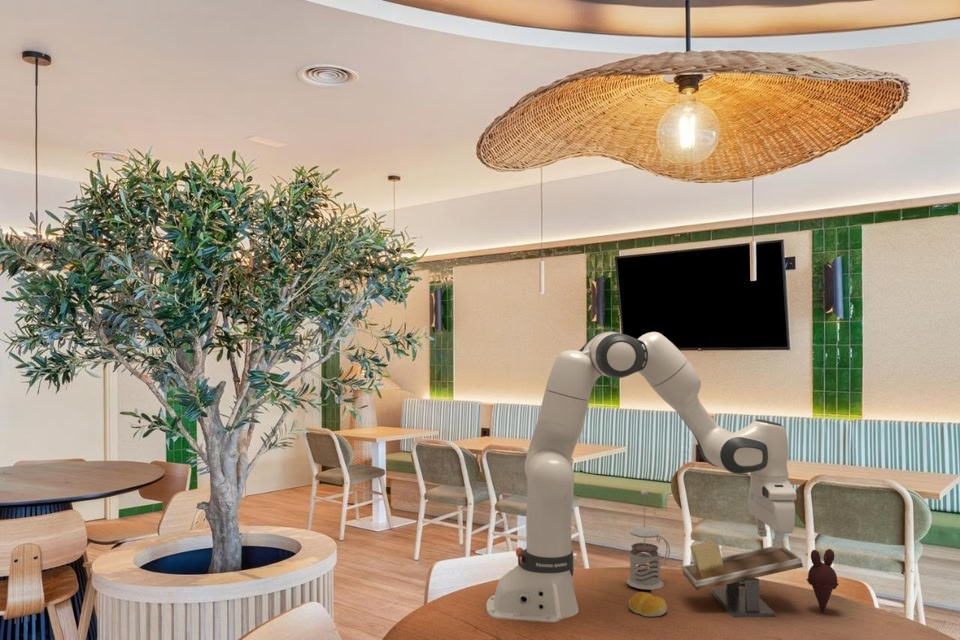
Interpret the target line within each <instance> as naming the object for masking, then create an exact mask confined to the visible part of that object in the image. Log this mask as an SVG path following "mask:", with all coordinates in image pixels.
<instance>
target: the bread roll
mask: <svg viewBox="0 0 960 640" xmlns="http://www.w3.org/2000/svg"><path fill="white" fill-rule="evenodd" d="M628 607H629V609H630V610H631V611H632V612H633V613H635V614H637V615H640V616H643V617H647V618H648V617H649V618H652V617H653V618H654V617H660V616H662V615H664V614H665V613H667V611H668V605H667V602H666V600H665V599H664V598H662V597H660V596H656V595H655V596H654V595H652V593H651V594H650V593H649V592H646V591H645V592H644V591H640V592H637V593H635V594H634V595H633V596H632V597H631V598H630V599H629V600H628Z"/></svg>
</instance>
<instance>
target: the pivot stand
mask: <svg viewBox="0 0 960 640" xmlns="http://www.w3.org/2000/svg"><path fill="white" fill-rule="evenodd" d="M711 594H712V596H713V597H714V598H715V599H716V600H717V602H718V603H719V604H720V605H721V606H722V607H723V608H724V610H726V612H727V613H728V614H729V615H730V616H731V617H733V618H776V616H777V615H776V612H775V611H774V610H773V609H772V608H771V607H769V605H767V603H766V602H764V601H763V599H762V598H760V578H759V577H757V578H745V583H744V588H740V582H734V583H730V584H725V588H711Z"/></svg>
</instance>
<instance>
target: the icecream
mask: <svg viewBox="0 0 960 640" xmlns="http://www.w3.org/2000/svg"><path fill="white" fill-rule="evenodd" d="M820 555H821V554H820V552H819V551H818V550H816V549H812V550H811V552H810V560H811V563H812V565H811V567H810V568H809V570H808V574H807V578H806V582H808V585H811V587H812V590H813V592H814V595H815V597H816V600H817V604H818V607H819V609H820V611H821V612H823V613H824V612H825V610H826V607H827V605H828V602H829V600H830V599H831V598H830V597H831V595H832V592H833V590H836V589H837V587H838V586H839V583H838V582H839V581H838V576H837V573H836V571H835V569H834V568H833V567H832V564H833V562H834V560H835V552H834V550H832V549H831V548H828V549H826V550H825V551H824V554H823V557H822V558H823V559H822V560H823V562H822V560H821V556H820Z"/></svg>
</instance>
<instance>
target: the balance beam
mask: <svg viewBox="0 0 960 640" xmlns="http://www.w3.org/2000/svg"><path fill="white" fill-rule="evenodd" d="M721 557H722V556H721ZM722 562H723V566H724V570H725V574H721V575H717V576H712V577H708V578H703V579H701V578H700V577H699V576H698V574H697V573H696V569H695V565H694V563H692V564H688V565H682V566H681V569H682V574H683V576H684V577H685V578H686V579H687V580H688V582H689V583H690V584H691V586H693V588H694V589H695V590H696V591H697V592H698V591H702V590H707V589H713V588H715V587H716V588H717V587H721V586H726V584H730V583H734V582H739V581H743V580H745V578H761V577H765V576H770V575H773V574H778V573H783V572H787V571H792V570H797V569H800V568H804V565H803V561H802V558H800V557H799V556H798V555H796V554H795V553H793V552H792V551H791V550H790V549H788V548H787V547H785V546H783V545H782V548H775V547H774V546H773V545H772V546H767V547H763V548H759V549H753V550H750V551H745V552H741V553H736V554H731V555H727V556H723V557H722ZM739 583H740V582H739Z"/></svg>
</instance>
